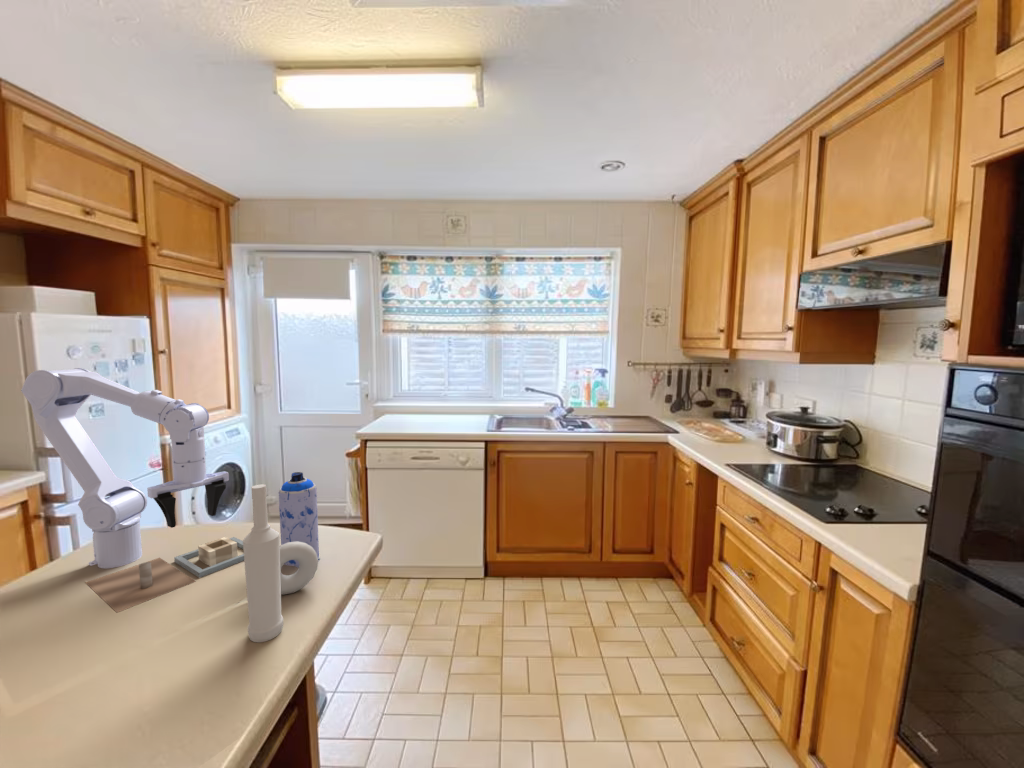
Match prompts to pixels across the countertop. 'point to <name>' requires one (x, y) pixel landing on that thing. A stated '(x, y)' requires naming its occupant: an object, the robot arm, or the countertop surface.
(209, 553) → the hollow wooden block
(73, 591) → the countertop surface
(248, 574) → the bottle
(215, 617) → the countertop surface
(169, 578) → the stake board
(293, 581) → the donut
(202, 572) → the tray
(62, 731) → the countertop surface
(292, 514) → the aerosol can
